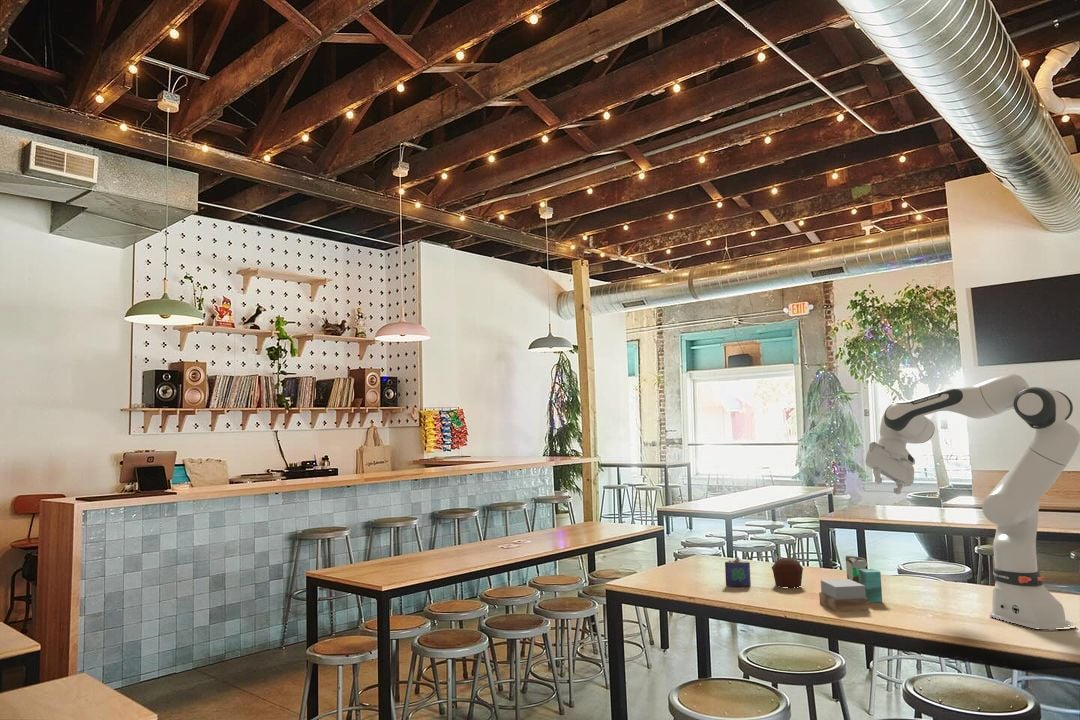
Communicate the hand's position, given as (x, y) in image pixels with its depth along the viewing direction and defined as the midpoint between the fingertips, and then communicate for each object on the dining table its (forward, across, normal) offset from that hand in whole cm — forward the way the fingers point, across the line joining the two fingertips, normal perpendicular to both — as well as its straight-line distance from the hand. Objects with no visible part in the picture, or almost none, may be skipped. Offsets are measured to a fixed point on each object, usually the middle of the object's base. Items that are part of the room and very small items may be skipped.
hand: (887, 488), depth 246 cm
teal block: (+36, +9, +10) cm, 39 cm away
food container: (+27, +21, +26) cm, 43 cm away
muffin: (+34, 0, +40) cm, 52 cm away
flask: (+40, -14, +49) cm, 65 cm away
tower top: (+39, -5, +9) cm, 41 cm away
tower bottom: (+43, -3, +10) cm, 44 cm away
